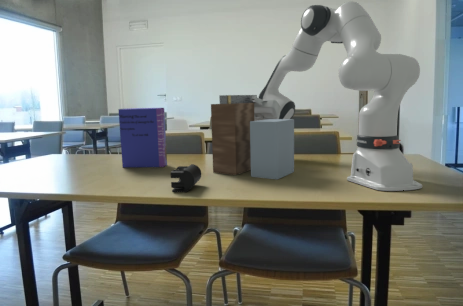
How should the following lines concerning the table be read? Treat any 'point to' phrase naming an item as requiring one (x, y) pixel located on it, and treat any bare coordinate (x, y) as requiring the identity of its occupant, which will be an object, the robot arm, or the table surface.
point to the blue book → (143, 137)
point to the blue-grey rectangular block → (272, 148)
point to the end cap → (185, 177)
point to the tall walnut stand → (231, 137)
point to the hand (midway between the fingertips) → (246, 97)
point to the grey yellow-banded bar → (235, 99)
